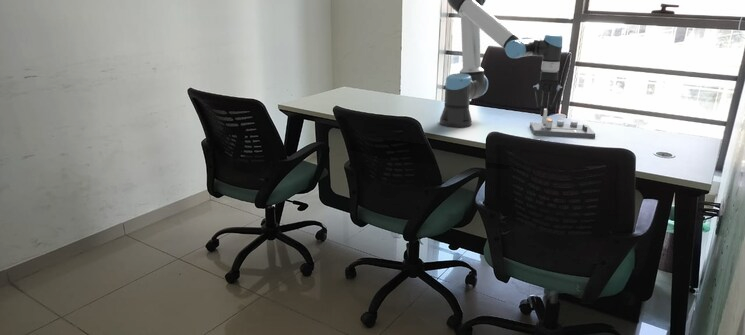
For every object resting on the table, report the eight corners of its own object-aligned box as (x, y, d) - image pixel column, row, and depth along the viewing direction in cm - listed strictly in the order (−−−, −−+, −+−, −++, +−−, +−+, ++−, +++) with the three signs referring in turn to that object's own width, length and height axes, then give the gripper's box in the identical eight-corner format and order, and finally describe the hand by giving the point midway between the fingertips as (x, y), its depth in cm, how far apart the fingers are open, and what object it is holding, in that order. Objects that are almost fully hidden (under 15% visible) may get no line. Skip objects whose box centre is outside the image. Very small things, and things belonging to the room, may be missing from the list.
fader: (546, 128, 240) (547, 120, 238) (545, 125, 243) (546, 118, 242) (551, 128, 239) (552, 121, 238) (550, 126, 243) (551, 118, 242)
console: (533, 134, 238) (534, 125, 236) (529, 126, 252) (530, 118, 251) (594, 138, 233) (596, 129, 232) (587, 129, 248) (588, 121, 247)
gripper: (535, 71, 231) (529, 124, 239) (566, 72, 229) (560, 125, 236) (533, 69, 238) (528, 120, 246) (563, 70, 236) (557, 122, 243)
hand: (543, 123), depth 241 cm, fingers closed
